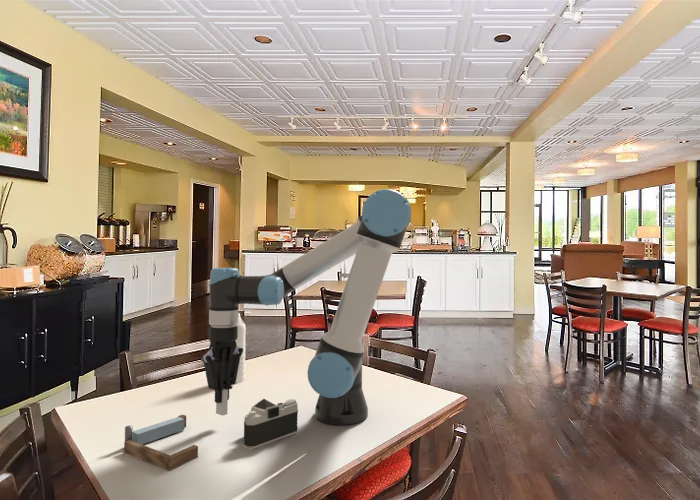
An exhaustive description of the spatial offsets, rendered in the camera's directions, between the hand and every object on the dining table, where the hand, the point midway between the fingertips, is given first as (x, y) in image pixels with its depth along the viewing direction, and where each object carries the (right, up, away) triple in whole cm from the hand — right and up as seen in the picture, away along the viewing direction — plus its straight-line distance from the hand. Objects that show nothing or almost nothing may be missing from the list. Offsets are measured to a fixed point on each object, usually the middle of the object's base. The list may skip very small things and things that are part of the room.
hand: (221, 413), depth 119 cm
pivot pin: (-18, -3, -13) cm, 23 cm away
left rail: (-3, -3, -21) cm, 21 cm away
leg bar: (-14, -3, -7) cm, 16 cm away
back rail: (-11, -3, -19) cm, 23 cm away
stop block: (-11, -3, 0) cm, 11 cm away
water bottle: (-6, -4, +42) cm, 43 cm away
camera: (+13, -4, -5) cm, 15 cm away
